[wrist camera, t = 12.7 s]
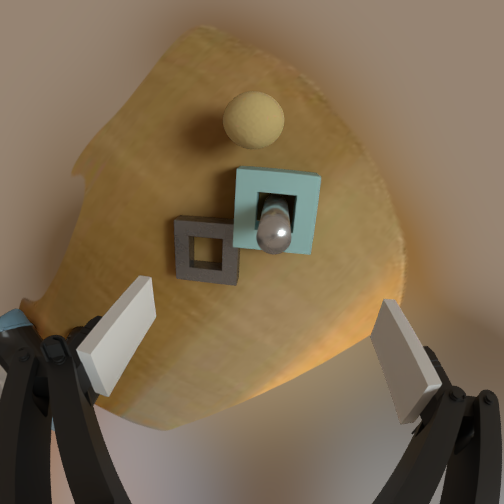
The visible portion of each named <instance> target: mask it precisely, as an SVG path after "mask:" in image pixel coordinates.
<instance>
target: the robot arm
mask: <svg viewBox="0 0 504 504" xmlns="http://www.w3.org/2000/svg"><path fill="white" fill-rule="evenodd" d="M155 318H156V311H155V304H154V296H153V288H152V279H151V277H147V276H140V275H139V277H138V278H137V279H136V280H135V281H134V282H133V283H132V284H131V285H130V286H129V288H128V289H127V290H126V291H125V292H124V293H123V294H122V295H121V297H120V298H119V299H118V300H117V301H116V302H115V303H114V305H113V306H112V307H111V308H110V309H109V310H108V312H107V313H106V314H105V315H104V316H103V317H101V316H96V317H95V318H93V319H91V320H90V321H89V322H88V323H87V324H86V325H85V327H76V328H74V329H73V330H72V332H71V333H70V334H69V335H68V337H67V339H66V340H65V338H64V337H62V336H59V335H52V336H49V337H47V338H46V339H44V340H43V339H42V338H41V337H40V335H39V334H38V332H37V331H36V330H35V328H34V327H33V324H32V323H30V321H29V320H28V319H27V317H26V316H25V314H24V313H23V312H22V311H21V310H19V309H13V310H11V311H9V312H7V313H6V314H4V315H2V316H1V317H0V504H52V498H51V482H50V443H51V429H52V430H53V431H55V434H56V439H57V444H58V448H59V452H60V456H61V460H62V464H63V468H64V471H65V474H66V478H67V481H68V484H69V487H70V490H71V493H72V496H73V499H74V502H75V504H132V503H131V501H130V500H129V498H128V496H127V494H126V491H125V490H124V487H123V485H122V483H121V481H120V479H119V477H118V474H117V472H116V470H115V467H114V465H113V462H112V460H111V458H110V455H109V452H108V450H107V447H106V444H105V442H104V439H103V436H102V433H101V430H100V427H99V424H98V421H97V418H96V415H95V411H94V407H93V405H94V403H95V402H96V400H97V398H98V396H99V395H100V394H101V395H104V396H107V397H109V395H110V394H111V392H112V390H113V388H114V387H115V385H116V383H117V381H118V380H119V378H120V376H121V374H122V373H123V371H124V369H125V367H126V366H127V364H128V362H129V361H130V359H131V357H132V356H133V354H134V352H135V351H136V349H137V347H138V346H139V344H140V342H141V341H142V339H143V337H144V336H145V334H146V332H147V331H148V329H149V328H150V326H151V324H152V323H153V321H154V319H155ZM370 338H371V340H372V343H373V346H374V348H375V351H376V353H377V356H378V359H379V361H380V364H381V367H382V370H383V373H384V375H385V378H386V381H387V384H388V387H389V390H390V393H391V396H392V399H393V402H394V405H395V408H396V412H397V415H398V418H399V421H400V424H407V423H413V422H414V421H415V420H416V419H417V418H418V416H419V415H420V416H421V419H422V421H421V422H420V424H419V425H418V426H417V427H416V428H415V430H414V431H413V432H412V434H413V433H414V436H413V437H412V439H411V442H410V443H409V445H408V447H407V449H406V451H405V453H404V455H403V456H402V458H401V460H400V462H399V463H398V465H397V467H396V468H395V470H394V472H393V473H392V475H391V477H390V478H389V480H388V481H387V483H386V485H385V486H384V487H383V489H382V490H381V492H380V493H379V495H378V496H377V498H376V499H375V501H374V502H373V503H372V504H429V503H430V501H431V499H432V496H433V495H434V493H435V491H436V489H437V486H438V484H439V482H440V480H441V478H442V475H443V473H444V471H445V468H446V465H447V469H446V475H445V481H444V486H443V491H442V495H441V500H440V504H499V497H500V487H501V471H502V439H501V423H500V412H499V403H498V399H497V396H496V395H495V394H494V393H493V392H492V391H490V390H483V391H481V392H480V394H479V395H478V396H477V397H472V396H466V393H465V392H464V391H463V390H462V389H461V388H459V387H457V386H452V385H451V383H450V381H449V379H448V377H447V375H446V373H445V371H444V369H443V367H441V364H440V362H439V361H438V359H437V357H436V355H435V353H434V352H433V351H432V350H431V349H430V348H429V347H428V346H422V344H421V343H420V341H419V339H418V337H417V336H416V334H415V332H414V330H413V329H412V327H411V325H410V324H409V322H408V320H407V319H406V317H405V315H404V314H403V312H402V310H401V309H400V307H399V305H398V304H397V302H396V301H395V300H391V299H383V302H382V305H381V308H380V311H379V314H378V317H377V320H376V323H375V325H374V328H373V331H372V333H371V336H370Z"/></svg>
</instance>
